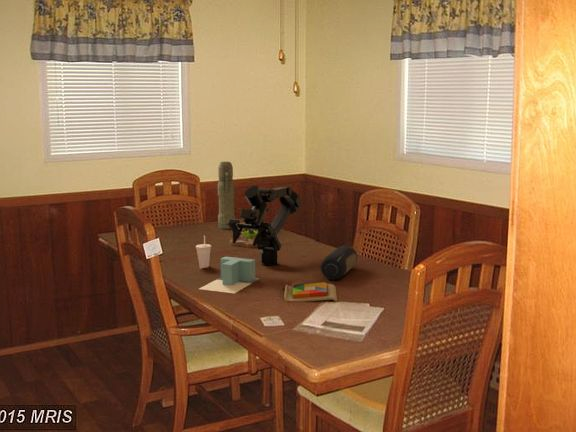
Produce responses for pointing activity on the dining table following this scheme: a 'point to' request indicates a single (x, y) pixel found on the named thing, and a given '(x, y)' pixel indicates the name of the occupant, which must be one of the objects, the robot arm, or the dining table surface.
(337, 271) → the portable speaker
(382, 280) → the dining table surface
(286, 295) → the wooden puzzle
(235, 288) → the mat
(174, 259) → the dining table surface
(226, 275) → the t block
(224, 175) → the thermos
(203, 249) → the smoothie
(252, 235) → the plant
